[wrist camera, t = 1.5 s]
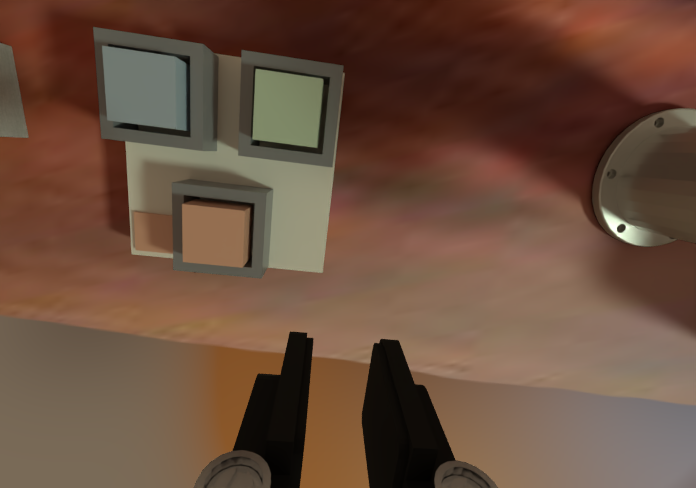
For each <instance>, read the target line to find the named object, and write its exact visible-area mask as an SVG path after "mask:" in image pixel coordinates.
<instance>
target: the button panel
mask: <svg viewBox="0 0 696 488" xmlns="http://www.w3.org/2000/svg"><path fill="white" fill-rule="evenodd" d="M93 32H94V45H95V59H96V72H97V86H98V99H99V113H100V126H101V138H103V139H111V140H119V141H125V143H126V161H127V179H128V197H129V215H130V233H131V251H132V254H135V255H145V256H155V257H166V258H173V270H178V271H188V272H199V273H209V274H220V275H231V276H241V277H252V278H262V277H263V275H264V273H265V271H266V269H267V268H278V269H288V270H299V271H309V272H319V273H323V265H324V256H325V247H326V238H327V229H328V220H329V211H330V202H331V193H332V184H333V175H334V166H335V157H336V149H337V140H338V131H339V122H340V113H341V104H342V95H343V86H344V77H345V73H343V67H344V66H343V65H336V64H330V63H323V62H317V61H310V60H304V59H298V58H291V57H285V56H278V55H272V54H265V53H259V52H252V51H246V50H242V54H241V57H235V56H228V55H222V54H215V53H213V52H212V51H211V50H210V49H209V48H207V47H206V46H205V45H204V44H200V43H194V42H188V41H181V40H175V39H168V38H162V37H155V36H149V35H142V34H136V33H129V32H123V31H116V30H110V29H103V28H97V27H93ZM102 46H108V47H114V48H121V49H128V50H134V51H141V52H148V53H154V54H161V55H168V56H174V57H177V58H178V59H180V60H182V61H183V62H185V63H186V64H188V65H190V129H191V131H184V130H176V129H168V128H161V127H153V126H146V125H138V124H130V123H123V122H116V121H109V120H107V110H106V96H105V81H104V67H103V52H102ZM256 69H261V70H268V71H274V72H281V73H288V74H294V75H301V76H308V77H314V78H321V79H323V82H324V90H323V100H322V111H321V121H320V131H319V142H318V148H313V147H306V146H298V145H290V144H283V143H275V142H267V141H260V140H254V139H253V116H254V94H255V72H256ZM194 199H201V200H209V201H218V202H227V203H236V204H245V205H253V210H252V231H251V252H250V258H249V260H248V261H247V262H246V264H245V265H244V266H243V268H240V267H229V266H219V265H209V264H199V263H188V262H183V243H182V204H183V203H186V202H189V201H192V200H194Z"/></svg>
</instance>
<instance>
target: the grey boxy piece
mask: <svg viewBox="0 0 696 488" xmlns="http://www.w3.org/2000/svg"><path fill="white" fill-rule="evenodd" d="M0 137H22V138H29V137H28V132H27V127H26V121H25V116H24V111H23V105H22V100H21V94H20V89H19V84H18V78H17V73H16V68H15V62H14V57H13V52H12V47H11V46H8V45H5V44H2V43H0Z"/></svg>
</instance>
